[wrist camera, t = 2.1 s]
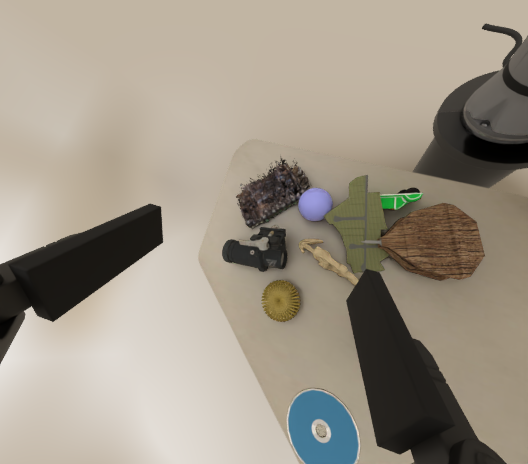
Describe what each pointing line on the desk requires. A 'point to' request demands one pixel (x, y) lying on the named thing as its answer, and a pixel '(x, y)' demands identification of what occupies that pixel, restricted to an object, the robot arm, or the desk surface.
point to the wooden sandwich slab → (435, 242)
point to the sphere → (315, 204)
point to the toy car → (400, 198)
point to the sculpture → (281, 300)
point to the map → (360, 226)
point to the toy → (327, 259)
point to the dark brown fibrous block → (272, 193)
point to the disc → (332, 418)
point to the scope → (259, 249)
